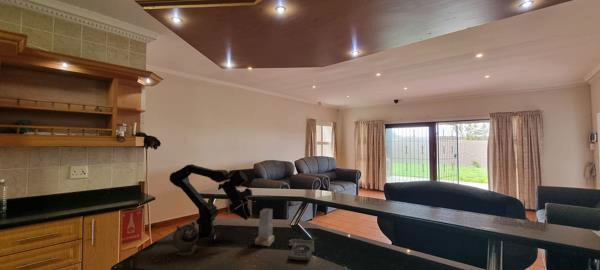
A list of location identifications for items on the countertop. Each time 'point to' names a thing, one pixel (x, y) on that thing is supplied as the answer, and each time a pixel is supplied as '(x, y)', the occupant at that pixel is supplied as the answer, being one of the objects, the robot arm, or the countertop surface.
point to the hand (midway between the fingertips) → (248, 217)
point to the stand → (264, 241)
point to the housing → (265, 224)
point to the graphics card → (301, 249)
